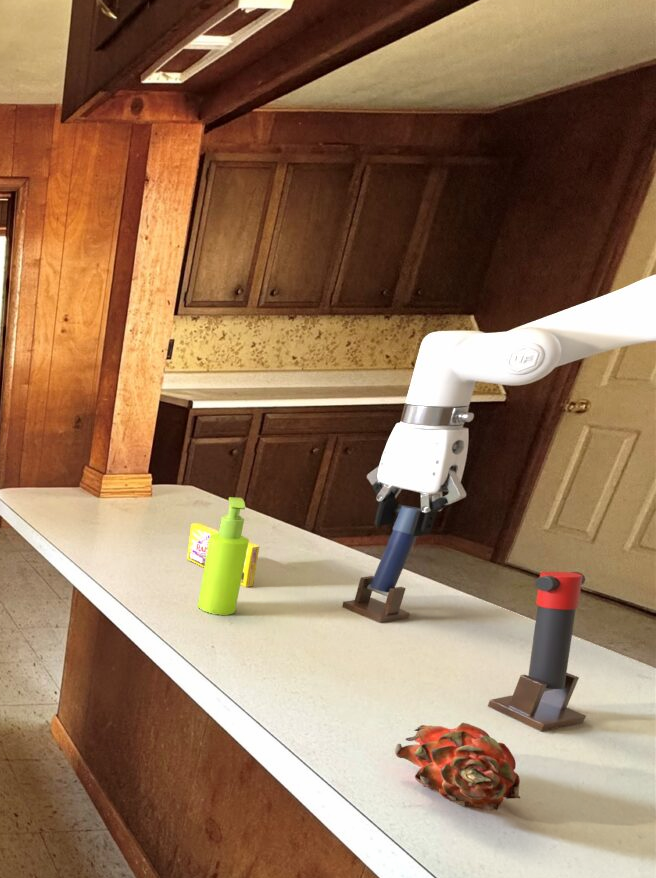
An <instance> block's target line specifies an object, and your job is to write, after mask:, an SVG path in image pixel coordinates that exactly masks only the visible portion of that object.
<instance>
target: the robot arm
mask: <svg viewBox="0 0 656 878" xmlns="http://www.w3.org/2000/svg"><path fill="white" fill-rule="evenodd" d="M653 342H656V274H652V275H651V276H647V277H645V278H643V279H640V280H638V281H636V282H633V283H631V284H629V285H626V286H625V287H622V288H620V289H617V290H615V291H612V292H610V293H606V294H604V295H602V296H599V297H596V298H594V299H591V300H588V301H586V302H583V303H579V304H577V305H575V306H571V307H569V308H567V309H563V310H561V311H558V312H556V313H553V314H550V315H546V316H544V317H542V318H538V319H536V320H533V321H531V322H527V323H525V324H522V325H520V326H516V327H514V328H512V329H510V330H507V331H497V332H485V331H481V330H438V331H433V332H430V333H428V334H427V335H426V336H425V337H423V339H422V341H421V343H420V347H419V351H418V354H417V357H416V362H415V365H414V369H413V372H412V377H411V380H410V384H409V388H408V392H407V395H406V397H405V403H404V406H403V409H402V414H401V417H400V422H397V423H396V424H395V426H394V427H393V429H392V431H391V433H390V435H389V437H388V439H387V441H386V444H385V447H384V450H383V452H382V454H381V459H380V462H379V465H378V466H377V467H375V468H374V469H373V470H372V471H370V472H369V473H367V474H366V479H367V480H368V481H369V483H370V485H371V486H372V489H373V491H374V492H375V495H376V501H377V502H379V503H378V507H377V510H376V514H375V520H374V522H373V523H374V526H377V527H382V526H390V525H394V523H395V518H396V515H394V513H393V510H394V508H395V507H396V506H397V505H400V504H399V500H396V499H398V496H399V494H400V493H401V491H402V490H408V491H412V492H416V493H420V509H421V511H417V512H416V514H415V517H414V521H413V524H412V528H411V531H410V534H411V535H412V536H417V537H420V536H421V537H422V536H428V535H429V534H430V533H431V531H432V529H433V526H434V523H435V519H436V516H437V513H438V512H441V511H442V510H443V509H444V508H447V507H448V506H451V505H452V504H453V503H456V502H458V501H460V500H462V499H465V498H466V497H467V492H466V490H465V488H464V486H463V484H462V479H463V475H464V471H465V466H466V463H467V457H468V456H467V455H468V449H469V437H470V436H469V428H468V427H464V425H465V423H470V422H472V421H473V419H474V418H475V414H474V413H473V412H469V409H470V404H471V400H472V397H473V393H474V391H475V388H476V384H477V382H479V383H488V384H494V385H502V386H524V385H528V384H532V383H534V382H537V381H540V380H541V379H543V378H544V377H546V376H547V375H549V374H550V373H552V371H553V370H554V369H555V368H558V367H560V366H564V365H567V364H569V363H573V362H575V361H579V360H582V359H585V358H588V357H591V356H596V355H598V354H602V353H605V352H609V351H612V350H616V349H621V348H624V347H628V346H633V345H639V344H644V343H645V344H647V343H653ZM443 492H446V493H447V494H445V495H444V496H443Z"/></svg>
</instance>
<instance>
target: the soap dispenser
mask: <svg viewBox="0 0 656 878" xmlns="http://www.w3.org/2000/svg"><path fill="white" fill-rule="evenodd" d="M228 502H229V505H228V510H227V514H225V515H223V516H221V518H220V523H219V529H218V530H219V533H216V534H212V535H210V538H209V543H208V549H207V555H206V561H205V567H204V568H203V573H202V580H201V585H200V590H199V597H198V602H197V607H199V608H200V609H199V608H198V609H199V610H201V609H202V610H204V611H206V612H205V613H207V612H209V613H208V614H210V613H212V614H211V615H215V614H219V615H218V616H229V614H230V615H233V614H235V613H236V608H237V603H238V598H239V592H240V588H241V585H240V583H241V578H242V573H243V568H244V563H245V558H246V553H247V548H248V543H249V542H250V539H249V538H248V537H246V536H243V535H242V533H243V527H244V523H245V518H243V517H242V516H241V515H240V513H241V510H245V509H246V502H245V500H244V499H243V498H242V497H233V496H232V497H231V496H229V497H228ZM202 610H201V611H202ZM204 611H203V612H204Z"/></svg>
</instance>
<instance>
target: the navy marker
mask: <svg viewBox="0 0 656 878" xmlns="http://www.w3.org/2000/svg"><path fill="white" fill-rule="evenodd" d="M417 511H421V507H417V506H416V507H415V506H410V505H404V504H398V505H397V506H396V507H395V508H394V510H393V513H394V515H395V516H397V517H396V520H395V521H394V523H393V527H392V532H391V533H390V537H389V539H388V542H387V544H386V547H385V548H384V551H383V553H382V556H381V558H380V561H379V564H378V566H377V567H376V570H375V573H374V576H373V580H372V582H371V584H369V585H368V587H367V589H368V590H371V591H372V592H374V593H376V594H379V595H381V596H384V597H386V598H387V597H388V594H389V590H390V588H396V587H397V584H398V582H399V579H400V577H401V574H402V572H403V570H404V567H405V564H406V562H407V560H408V557H409V556H410V553H411V552H412V551H411V550H412V548H413V546H414V544H415V542H416V539H417V537H418V536H412V535H411V534H410V531H411V528H412V524H413V521H414V517H415V514H416V512H417Z"/></svg>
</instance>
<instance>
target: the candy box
mask: <svg viewBox="0 0 656 878" xmlns="http://www.w3.org/2000/svg"><path fill="white" fill-rule="evenodd" d="M216 533H219V529H217V528H216V529H215V528H213V527H212V526H211V527H210V526H208V525H205V524H203V523H200V522H194V523H191V524H190V531H189V538H188V546H187V554H186V560H187V559H188V560H190V561H192V562H194V563H196V564H195V565H197V564H198V565H197V566H199V565H200V566H199V567H201V566H202V567H201V568H203V567H205V561H206V555H207V549H208V543H209V538H210V535H212V534H216ZM260 547H261V546H260V545H259V544H256V543H254V542H250V541H249V543H248V548H247V553H246V558H245V563H244V568H243V573H242V578H241V583H240V586H243V587H245V588H249V587H253V586H254V580H255V575H256V568H257V564H258V563H257V562H258V557H259V551H260ZM188 560H187V561H188ZM190 561H189V562H190ZM192 562H191V563H192ZM194 563H193V564H194Z"/></svg>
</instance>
